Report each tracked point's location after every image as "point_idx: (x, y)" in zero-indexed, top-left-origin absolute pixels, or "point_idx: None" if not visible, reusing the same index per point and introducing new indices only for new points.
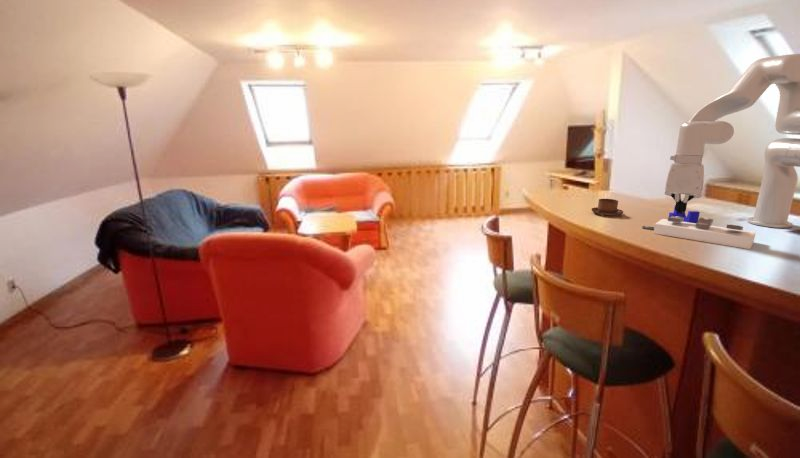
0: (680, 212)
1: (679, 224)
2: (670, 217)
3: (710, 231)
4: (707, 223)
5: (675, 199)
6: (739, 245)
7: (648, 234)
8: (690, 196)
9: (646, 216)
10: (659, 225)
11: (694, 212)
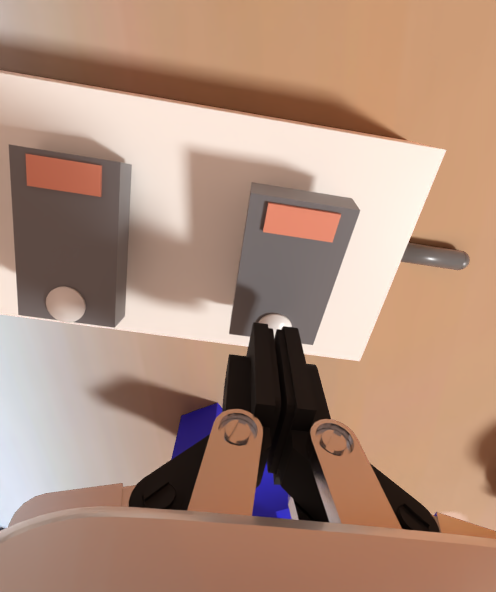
0: (264, 328)
1: None
2: (339, 234)
3: (6, 98)
4: (35, 204)
5: (356, 450)
6: None
7: (452, 75)
8: (171, 508)
9: None
10: (404, 142)
11: None
